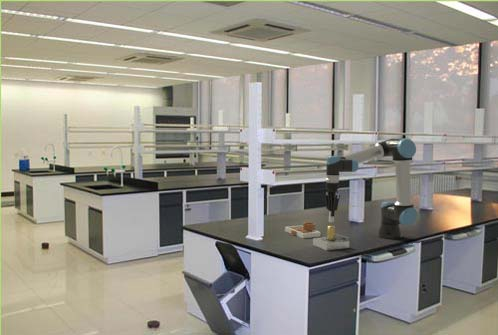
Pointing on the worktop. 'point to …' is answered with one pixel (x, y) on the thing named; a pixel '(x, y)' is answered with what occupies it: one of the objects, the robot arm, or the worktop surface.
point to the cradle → (302, 235)
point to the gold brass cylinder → (331, 233)
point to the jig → (332, 242)
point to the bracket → (304, 228)
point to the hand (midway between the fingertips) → (331, 221)
